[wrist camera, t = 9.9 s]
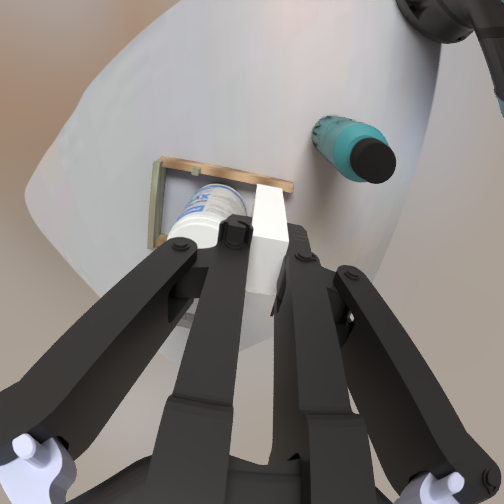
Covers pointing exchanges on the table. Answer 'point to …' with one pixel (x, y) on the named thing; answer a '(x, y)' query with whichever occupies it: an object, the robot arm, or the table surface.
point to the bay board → (196, 169)
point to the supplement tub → (207, 214)
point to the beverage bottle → (354, 149)
